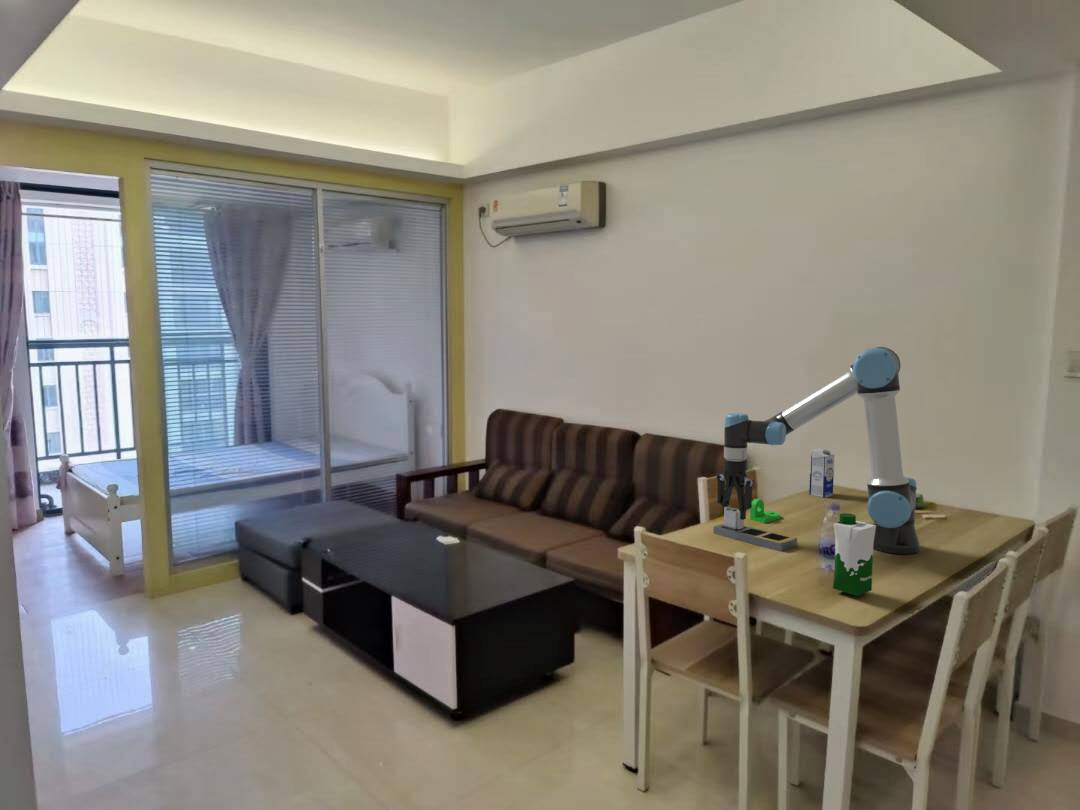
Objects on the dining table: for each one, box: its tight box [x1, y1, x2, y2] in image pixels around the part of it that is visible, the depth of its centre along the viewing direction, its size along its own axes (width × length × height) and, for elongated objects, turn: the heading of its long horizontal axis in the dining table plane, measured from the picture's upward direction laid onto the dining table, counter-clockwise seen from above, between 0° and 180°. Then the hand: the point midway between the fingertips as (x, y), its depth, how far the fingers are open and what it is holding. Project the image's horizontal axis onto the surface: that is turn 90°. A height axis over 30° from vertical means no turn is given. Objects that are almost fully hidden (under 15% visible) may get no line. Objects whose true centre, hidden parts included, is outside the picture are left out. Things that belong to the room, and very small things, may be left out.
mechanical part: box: [749, 498, 781, 524], centre depth 267 cm, size 12×6×8 cm, turn 129°
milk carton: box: [808, 447, 835, 499], centre depth 301 cm, size 7×7×20 cm
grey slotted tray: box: [712, 523, 798, 552], centre depth 243 cm, size 26×9×3 cm, turn 40°
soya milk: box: [832, 513, 876, 597], centre depth 195 cm, size 9×9×20 cm
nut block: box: [723, 507, 743, 531], centre depth 248 cm, size 4×4×8 cm
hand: (733, 526), depth 249 cm, fingers open, 5 cm apart
